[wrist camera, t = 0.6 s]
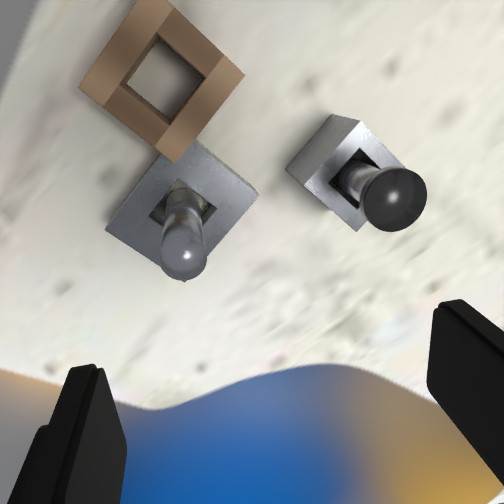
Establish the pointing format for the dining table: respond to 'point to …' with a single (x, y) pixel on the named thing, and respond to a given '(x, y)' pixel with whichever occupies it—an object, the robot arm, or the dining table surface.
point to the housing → (339, 163)
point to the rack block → (130, 57)
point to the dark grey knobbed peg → (383, 193)
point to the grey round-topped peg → (182, 236)
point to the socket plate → (197, 178)
